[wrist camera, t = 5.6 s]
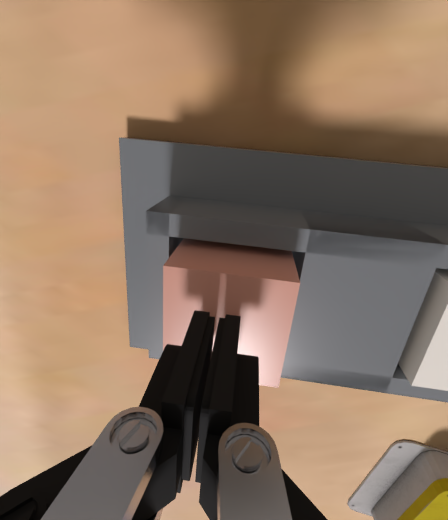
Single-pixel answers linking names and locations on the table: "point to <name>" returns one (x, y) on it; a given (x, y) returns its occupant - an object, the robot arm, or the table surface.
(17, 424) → the table surface
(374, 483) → the emergency button
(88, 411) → the table surface
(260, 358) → the terracotta key
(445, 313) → the cream key
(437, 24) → the table surface
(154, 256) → the key panel
